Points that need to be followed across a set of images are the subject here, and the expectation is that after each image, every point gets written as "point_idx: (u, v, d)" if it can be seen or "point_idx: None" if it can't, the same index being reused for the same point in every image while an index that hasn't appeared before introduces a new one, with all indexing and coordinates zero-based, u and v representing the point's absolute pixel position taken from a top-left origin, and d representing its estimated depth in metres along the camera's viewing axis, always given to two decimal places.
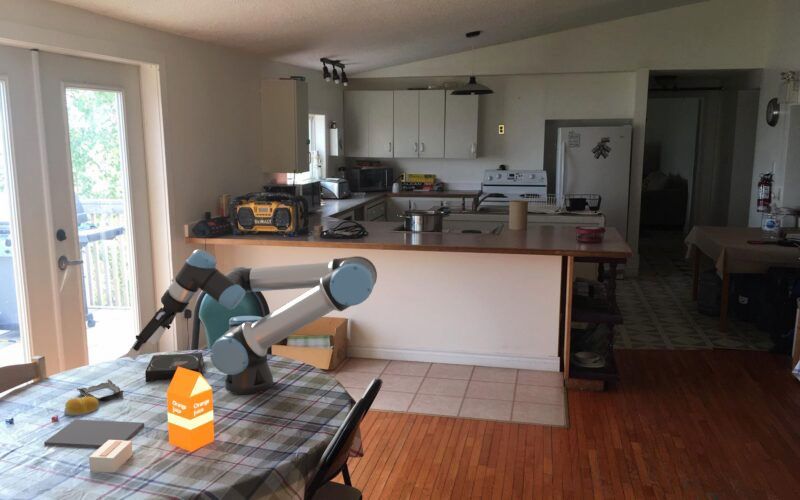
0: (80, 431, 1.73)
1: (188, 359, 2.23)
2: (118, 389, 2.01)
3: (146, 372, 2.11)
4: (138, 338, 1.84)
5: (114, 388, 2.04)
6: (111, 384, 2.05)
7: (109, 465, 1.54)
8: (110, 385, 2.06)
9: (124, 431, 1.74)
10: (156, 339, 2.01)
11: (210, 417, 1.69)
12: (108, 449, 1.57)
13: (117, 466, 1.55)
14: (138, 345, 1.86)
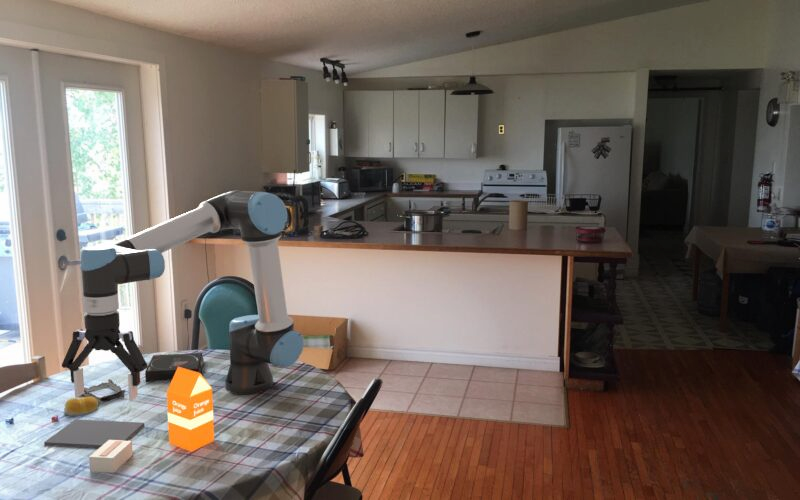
0: (80, 431, 1.73)
1: (188, 359, 2.23)
2: (119, 389, 2.01)
3: (145, 372, 2.11)
4: (143, 367, 1.53)
5: (115, 388, 2.04)
6: (112, 384, 2.06)
7: (109, 465, 1.54)
8: (111, 385, 2.06)
9: (124, 431, 1.74)
10: (82, 385, 1.57)
11: (210, 417, 1.69)
12: (108, 449, 1.57)
13: (117, 466, 1.55)
14: (138, 377, 1.55)
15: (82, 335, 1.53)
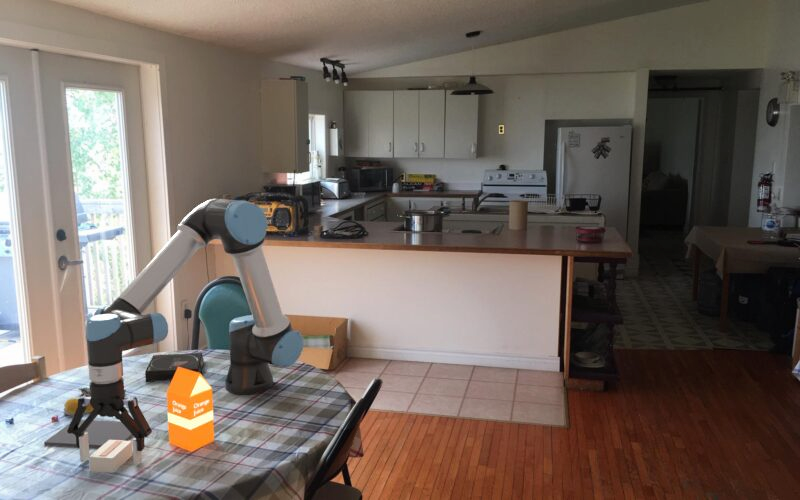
0: None
1: (188, 359, 2.23)
2: None
3: (145, 372, 2.11)
4: (148, 433, 1.56)
5: None
6: None
7: (109, 465, 1.54)
8: None
9: (124, 431, 1.74)
10: (87, 450, 1.59)
11: (210, 417, 1.69)
12: (108, 449, 1.57)
13: (117, 466, 1.55)
14: (143, 442, 1.57)
15: (87, 402, 1.56)
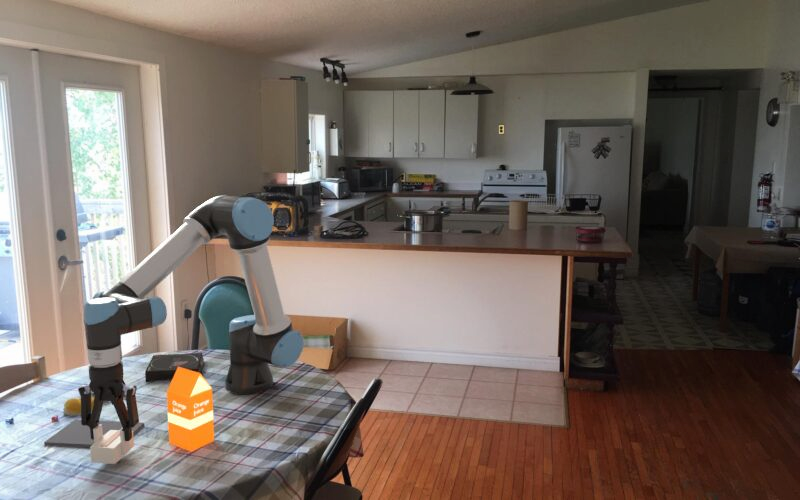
0: (80, 431, 1.73)
1: (188, 359, 2.23)
2: None
3: (145, 372, 2.11)
4: (135, 423, 1.56)
5: None
6: None
7: (110, 455, 1.54)
8: None
9: None
10: None
11: (210, 417, 1.69)
12: (109, 439, 1.57)
13: (118, 456, 1.55)
14: (130, 432, 1.57)
15: (88, 388, 1.55)
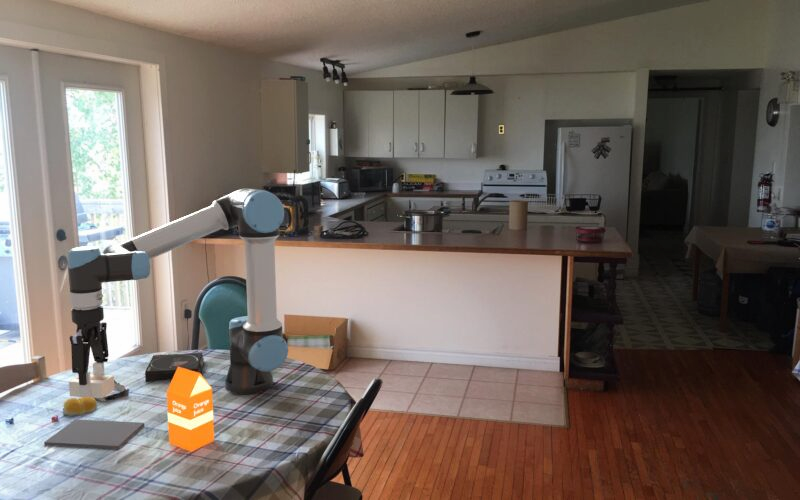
0: (80, 431, 1.73)
1: (188, 359, 2.23)
2: (123, 388, 2.02)
3: (145, 372, 2.11)
4: None
5: (118, 387, 2.05)
6: (115, 383, 2.06)
7: (112, 383, 1.72)
8: None
9: (124, 431, 1.74)
10: None
11: (210, 417, 1.69)
12: (94, 378, 1.70)
13: None
14: None
15: (80, 336, 1.64)
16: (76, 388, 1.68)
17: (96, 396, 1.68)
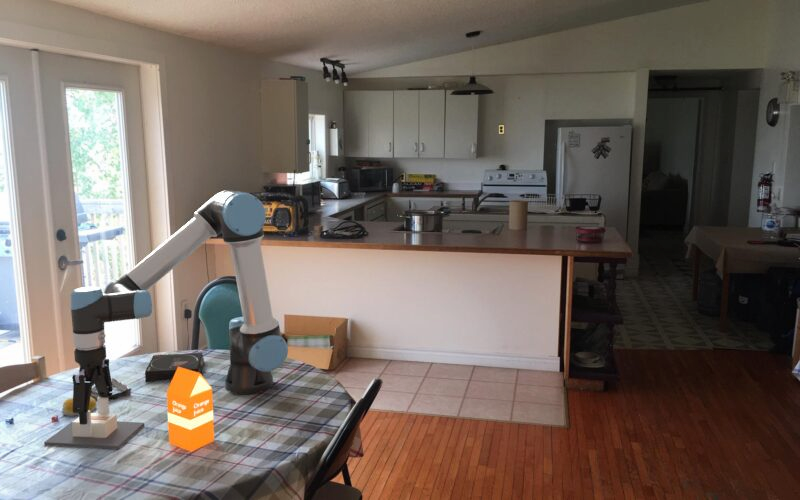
0: None
1: (188, 359, 2.23)
2: (125, 387, 2.03)
3: (145, 372, 2.11)
4: None
5: (120, 386, 2.05)
6: (116, 383, 2.07)
7: (114, 422, 1.74)
8: (115, 384, 2.07)
9: (124, 431, 1.74)
10: None
11: (210, 417, 1.69)
12: (96, 418, 1.72)
13: None
14: None
15: None
16: (79, 428, 1.70)
17: (99, 436, 1.70)
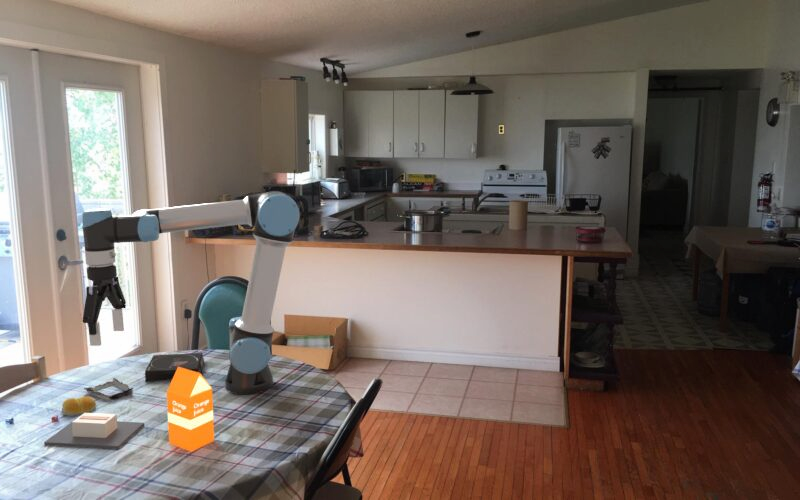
0: None
1: (188, 359, 2.23)
2: (126, 387, 2.03)
3: (145, 372, 2.11)
4: None
5: (121, 386, 2.05)
6: (117, 382, 2.07)
7: (114, 422, 1.74)
8: (116, 383, 2.07)
9: (124, 431, 1.74)
10: None
11: (210, 417, 1.69)
12: (96, 418, 1.72)
13: None
14: None
15: None
16: (79, 428, 1.70)
17: (99, 436, 1.70)
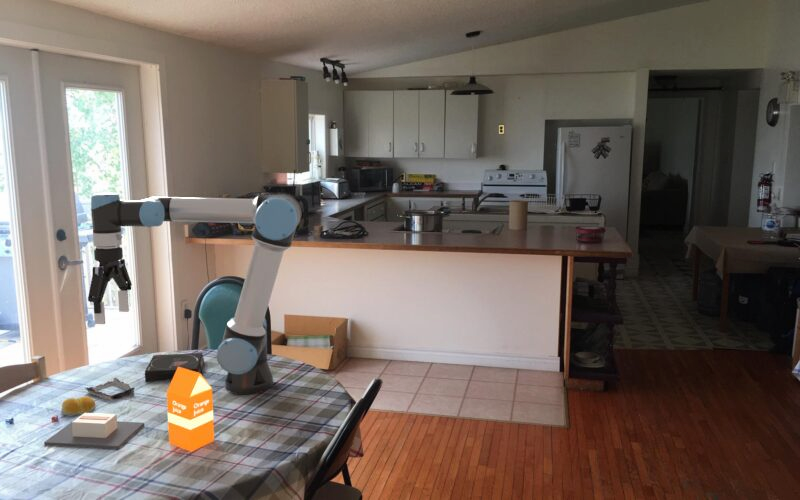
0: None
1: (188, 359, 2.23)
2: (127, 386, 2.03)
3: (145, 372, 2.11)
4: None
5: (122, 386, 2.05)
6: (118, 382, 2.07)
7: (114, 422, 1.74)
8: (117, 383, 2.08)
9: (124, 431, 1.74)
10: None
11: (210, 417, 1.69)
12: (96, 418, 1.72)
13: None
14: None
15: None
16: (79, 428, 1.70)
17: (99, 436, 1.70)
